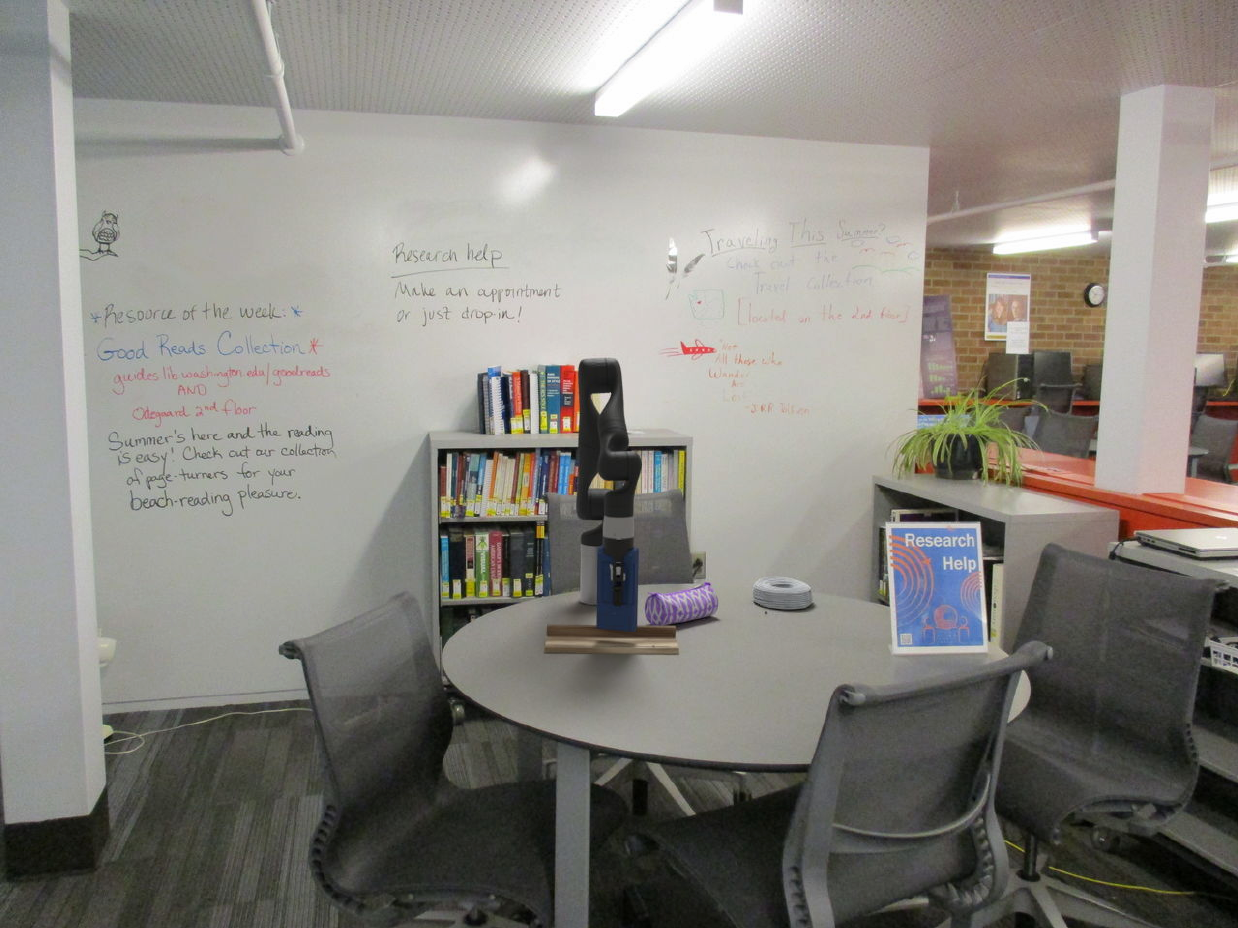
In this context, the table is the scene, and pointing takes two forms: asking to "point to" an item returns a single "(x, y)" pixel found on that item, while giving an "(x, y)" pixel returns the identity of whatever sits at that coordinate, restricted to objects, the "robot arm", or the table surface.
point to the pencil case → (681, 605)
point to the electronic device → (628, 612)
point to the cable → (782, 593)
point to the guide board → (611, 640)
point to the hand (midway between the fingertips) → (617, 601)
